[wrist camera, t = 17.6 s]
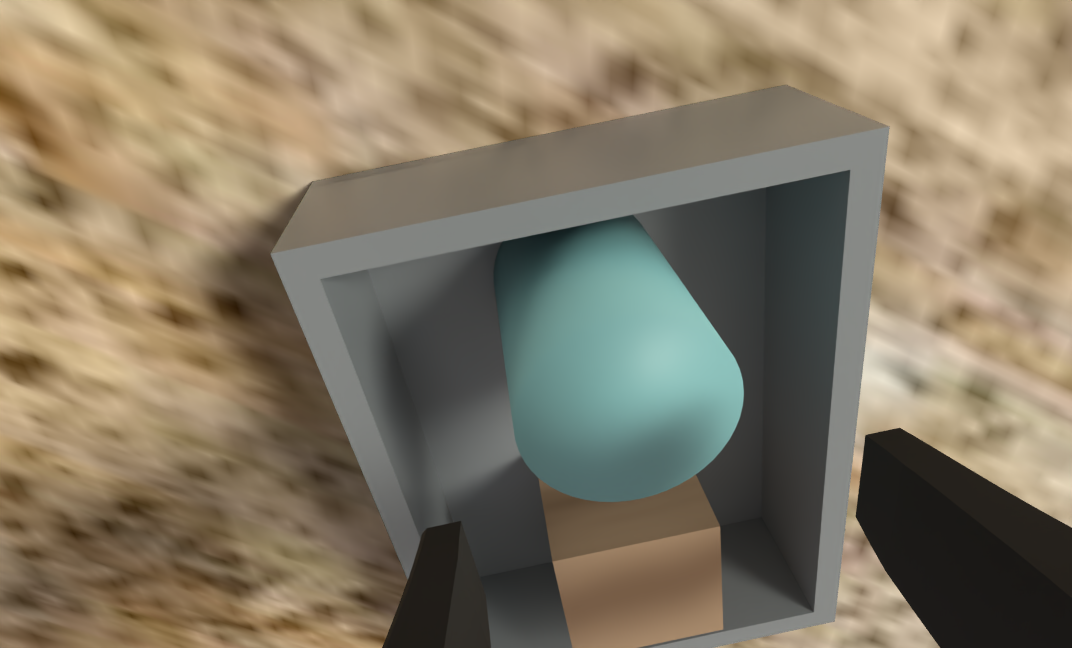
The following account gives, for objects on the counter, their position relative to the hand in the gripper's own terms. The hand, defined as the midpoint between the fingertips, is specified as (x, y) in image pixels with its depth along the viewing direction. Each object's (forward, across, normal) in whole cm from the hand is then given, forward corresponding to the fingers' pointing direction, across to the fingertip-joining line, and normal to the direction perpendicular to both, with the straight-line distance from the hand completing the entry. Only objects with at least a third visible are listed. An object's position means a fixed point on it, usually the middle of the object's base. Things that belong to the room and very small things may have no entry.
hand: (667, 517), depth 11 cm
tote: (+10, 0, +4) cm, 11 cm away
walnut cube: (+10, 0, +9) cm, 13 cm away
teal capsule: (+10, 0, 0) cm, 10 cm away
